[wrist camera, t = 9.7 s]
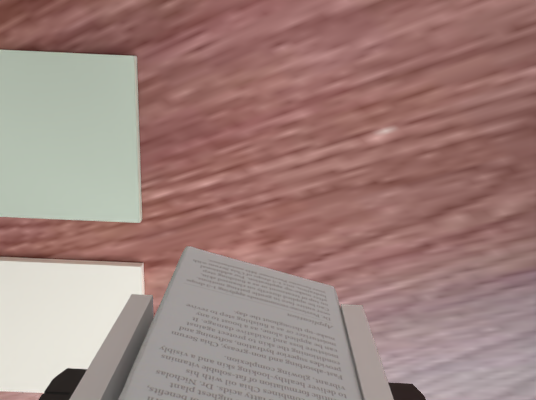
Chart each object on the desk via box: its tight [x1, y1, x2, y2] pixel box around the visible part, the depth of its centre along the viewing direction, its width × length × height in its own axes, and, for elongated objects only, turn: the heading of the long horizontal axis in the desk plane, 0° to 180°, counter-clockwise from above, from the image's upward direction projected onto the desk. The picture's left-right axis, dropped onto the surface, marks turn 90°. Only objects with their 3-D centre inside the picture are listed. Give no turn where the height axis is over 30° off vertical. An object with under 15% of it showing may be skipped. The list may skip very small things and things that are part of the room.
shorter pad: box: [0, 49, 142, 223], centre depth 30 cm, size 12×10×1 cm
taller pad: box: [0, 257, 145, 393], centre depth 33 cm, size 12×10×1 cm
